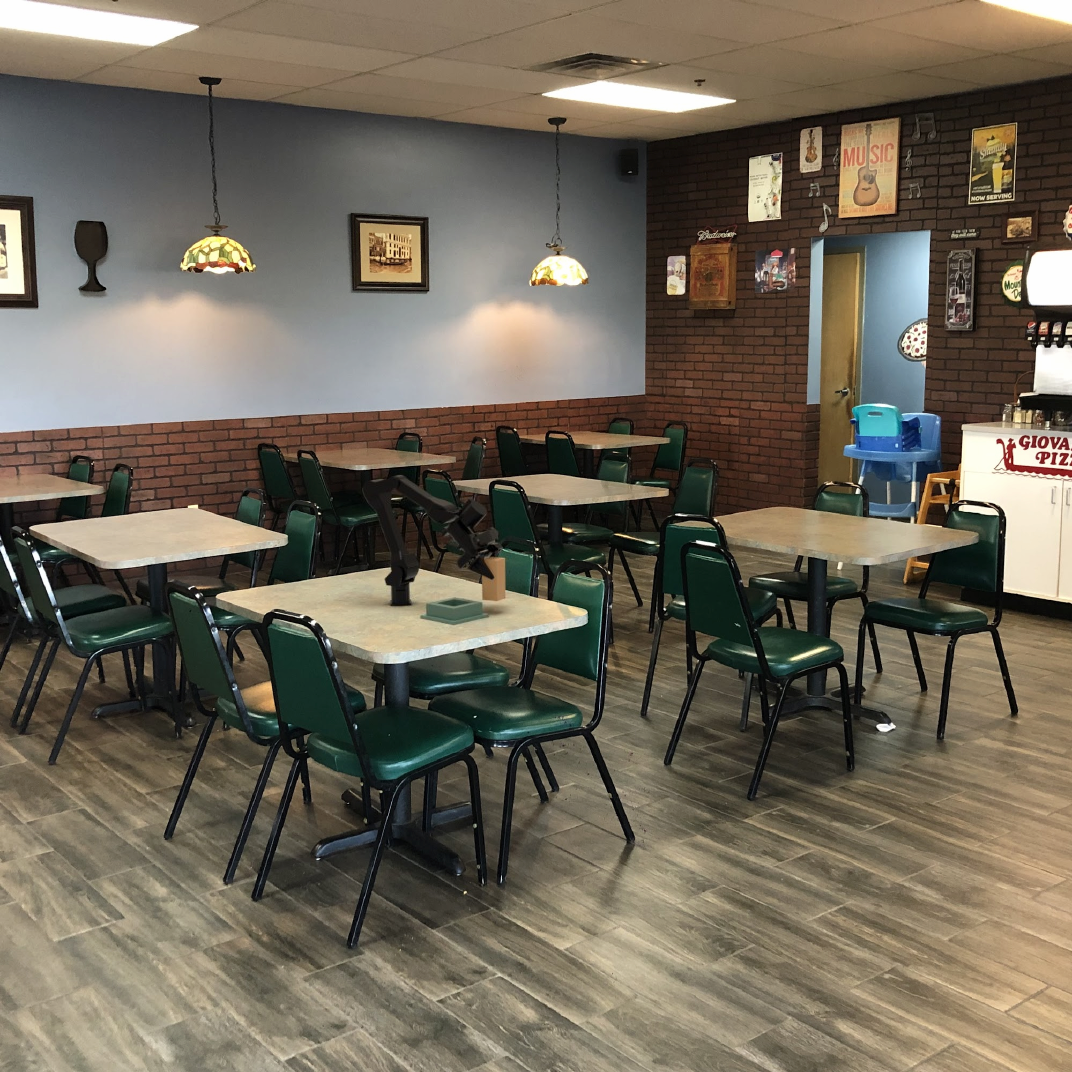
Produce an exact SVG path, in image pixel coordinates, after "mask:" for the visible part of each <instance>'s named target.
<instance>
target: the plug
mask: <svg viewBox="0 0 1072 1072" xmlns="http://www.w3.org/2000/svg"><path fill="white" fill-rule="evenodd" d="M484 562H485V563H486V565H487V566H488V568H489V569H490V571H491V572H492V574H493V575H494V579H493V580H491V579H489V578H487V577H485V576H483V575H481V591H482V592H481V594H482V595H481V597H482V599H481V600H482V601H490V602H491V601H492V602H493V601H494V602H499V601H502V600H504V599H506V558H505V557H498V556H497V557H488V558H485V559H484Z"/></svg>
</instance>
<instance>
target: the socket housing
mask: <svg viewBox="0 0 1072 1072" xmlns="http://www.w3.org/2000/svg"><path fill="white" fill-rule="evenodd" d="M425 605H426V607H425V612H426V613H425V614H420V615H419V618H420V619H424V620H427V621H432V622H438V623H442V624H443V623H444V624H448V625H453V626H454V625H459V624H463V623H468V622H472V621H477V620H480V619H484V618H489V617H490V614H489V613H487V612H486V613H485V612H484V611H483V602H482V601H479V600H478V601H477V600H472V599H466V598H460V597H451V598H445V599H441V600H436V601H431V602H426V604H425Z"/></svg>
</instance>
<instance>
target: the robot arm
mask: <svg viewBox="0 0 1072 1072" xmlns="http://www.w3.org/2000/svg"><path fill="white" fill-rule="evenodd" d="M394 491H397V492H399V493H400V494H401V495H402V496H404V497H405V498H406V497H407V499H409V500H410V501H412V502H413V503H415V504H416V505H417V506H419V507H421V509H424V510H425V512H426V514H427V516H428V517H429V518H430V519H432V521H433V522H434V523H436V524H437V525H442V524H446V523H448V525H447V526H443V527H442V532H441V536H442V537H446V536H447V537H448V536H450V537H452V539H453V540H454V542H455V543H456V544H457V545H458V546H457V547H456V548H457V550H458V551H461V550H462V551H463V553H462V554H461V555H460V556H459V557H458V559H457V560H456V566H457V567H458V568H459V570H464V569H467V570H468V571H471V572H473V573H476V574H479V575H481V576H482V575H483V576H485V577H487V578H489V579H491V580H493V579H494V575H493V574H492V572H491V571H490V569H489V568H488V566H487V565H486V563H485V562H484V559H485V558H488V557H498V556H499V553H500V552H501V551H502V550H503V549H504V547H503V546H502V544H501V543H500V542H493V541H496V540H499V537H498V536H499V530H496V528H495V527H493V526H492V527H489V528H487V529H486V530H485V532H482V533H480V534H479V532H473V530H472V529H471V528H476V526H478V524H479V523H480V522H481V521H482V520H483V518H485V517H486V516H487V514H488V511H487V509H486V507H485V505H483V504H481V503H480V502H478V501H476V500H475V499H474V498H473V497H472V498H468V499H467V501H466V502H465V504H463V506H462V507H457V506H456V505H455V504H453V502H450V501H447V500H445V499H442V498H439V497H435V496H433V495H432V494H430V493H429V492H427V491H426V490H424V489H422V488H421V487H420V486H418V485H417V484H415V483H414V482H412V481H410V479H408V478H407V476H406V475H405V476H404V475H402V474H399V475H394V476H391V477H389V478H386V479H383V478H379V479H373V480H369V481H366V482H365V483H364V484H363V487H362V494H363V496H364V498H365V500H366V501H367V503H368V504H369V506H371V508H372V509H374V511H375V513H376V515H377V519H378V521H379V525H380V527H381V530H382V532H383V535H384V539H385V541H386V543H387V546H388V549H389V553H390V561H389V567H390V572H389V573H388V574H387V575H386V577H385V578H384V582H385V585H386V586H387V587H390V598H391V599H390V600H389V605H390V606H411V605H412V599H411V594H410V593H411V591H410V587H411V586H410V584H411V583H414V582H415V580H416V579H415V578H416V577H417V575H418V574H419V571H420V567H419V566H420V563H419V561H418V559H417V555H416V553H415V551H414V552H410V551H409V550H408V549H407V548H406V544H405V542H404V539H403V536H402V533H401V531H400V528H399V526H398V523H397V519H396V516H395V513H394V510H393V508H392V497H393V496H392V495H393V494H392V492H394ZM491 542H493V543H491ZM467 564H468V565H469V566H468V567H467Z"/></svg>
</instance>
